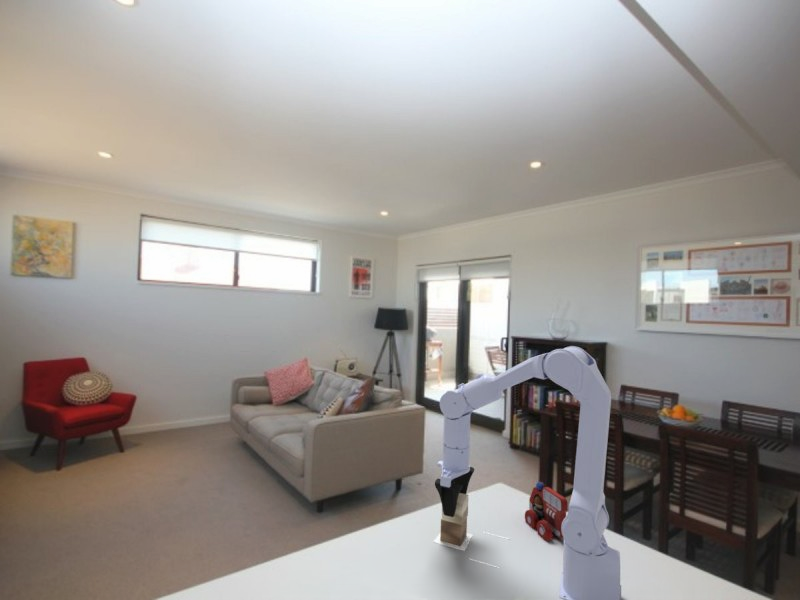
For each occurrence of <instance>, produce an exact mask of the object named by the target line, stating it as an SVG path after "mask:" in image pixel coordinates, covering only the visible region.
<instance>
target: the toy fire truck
mask: <svg viewBox="0 0 800 600" xmlns="http://www.w3.org/2000/svg"><path fill="white" fill-rule="evenodd" d="M528 500H529V501H528V502H529V503H528V504H529V506H528V507H529V508H528V509H527V510H526V511H525V513H524V519H525V523H526V524H527V525H528V526H529V528H531V529H536V532H537V535H538V536H539V537H540V538H541V539H542V540H544V541H546V542H549V541H551V540H552V539H553V537H554V536H555V537H557V538H559V539H562V538H563V535H562V531H561V525H562V522H563V520H564V519H565V517H566V516H567V512H568V510H569V504H568V500H567V498H566V497H564V496H563V495H561V494H559V492H557V491H555V490H554V489H552V488H551V487H549V486H546V485H545V483H544V482H542V481H538V482H537V483H536V485H535V486H534V487H533V488H532V491H531V493H530V496H529V499H528ZM563 539H564V538H563Z"/></svg>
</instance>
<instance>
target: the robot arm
mask: <svg viewBox="0 0 800 600" xmlns="http://www.w3.org/2000/svg"><path fill="white" fill-rule="evenodd" d="M532 378H536V379H540V380H546V379H549V380H551V381H552V382H553V383H555V384H556V385H558V386H560V387H562V388H563V389H566V390H568V391H569V392H570V394H571V395H572V396H573V397H574V398H575V399H576V400H577V401H578V402H579V404H580V407H579V408H580V409H579V420H578V430H577V431H578V432H577V441H576V453H575V465H574V476H573V477H574V478H573V489H572V493H571V497H570V501H569V504H568V510H567V513H566V517H565V519H564V520H563V522H562V525H561V531H562V535H563V554H562V556H563V557H562V558H563V559H562V561H563V562H562V571H561V574H560V583H559V590H558V591H559V593H558V598H560V599H562V600H621V598H622V584H621V553H620V551H619V550H617V549H615V548H612V547H610V546H608V545H609V544H608V543H607V540H606V537H605V535H604V533H605V531H606V529H607V528H608V526H609V523H610V516H609V513H608V510H607V507H606V495H605V492H604V487H605V486H604V485H605V476H606V475H605V474H606V462H607V451H608V439H609V429H610V416H611V405H612V393H611V390H610V388H609V386H608V384H607V383H606V381H605V379H604V377H603V376H602V373H601V372H600V369H599V368H598V365H597V361H596V359H595V358H594V357H592V356H591V354H589V353H588V352H587V351H586V350H584V349H583V348H582V347H579V346H574V345H570V346H566V347H564V348H556V349H554V350H551V351H550V352H546V353H545V352H544V353H542V354H539V355H535V356H533V357H530V358H527V359H526V360H524V361H522V362H520V363H518V364H516V365H514V366H512V367H511V368H509V369H507V370H505V371H503V372H502V373H501V372H500V374H497V375H493V374H490V373H485V374H484V373H483V372H482V373H479V374H476V375H475V378H474V379H473V380H471V381H469V382H467V383H463V382H462V383H460V384H458V385H457V389H453V390H447V391H446V392H445V393H444V394H442V395H441V397H440V399H439V408H440V411H441V413H442V414H443V440H442V442H443V443H442V445H443V447H442V460H439V461H438V462H437V467H439V468H441V475H440V478H436V479H435V480H434V486H435V489H436V490H437V493H438V495H439V498H440V501H441V509H442V508H443V513H444V515H446V516H450V517H454V515H455V511H456V505H457V500H458V496H459V493H462V494H467V492H468V488H469V484H470V481H471V478H472V476H473V474H474V472H475V468H474V467H472V466H471V465H470V447H471V445H470V444H471V415H472V413H473V412H474V411H476V410H479V409H481V408H483V407H485V406H487V405H490V404H492V403H494V402H496V401H499V400H500V399H501V397H502V394H503V392H504V390H506V389H509V388H511V387H513V386H515V385H518V384H521V383H523V382H525V381H528V380H530V379H532Z"/></svg>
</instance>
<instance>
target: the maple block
mask: <svg viewBox="0 0 800 600" xmlns="http://www.w3.org/2000/svg"><path fill="white" fill-rule="evenodd" d="M468 516H469V494H467V493H466V494H462V493H459V496H458V500H457V505H456V511H455V515H454V517H450V516H446V515H444V513H443V508H442V507H441V519H442V520H445V521H448V522H452V523H456V524H460V525H462V524H463V523H464V521H465V519H466V518H467V519H468Z"/></svg>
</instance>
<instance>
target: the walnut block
mask: <svg viewBox="0 0 800 600" xmlns="http://www.w3.org/2000/svg"><path fill="white" fill-rule="evenodd" d="M467 529H468V517H467V518H466V519H465V521H464V523H463V524H462V525H460V524H456V523H452V522H448V521H445V520H442V518H440V532H441V535H440V541H443V542H447V543H450V544H454V545H457V546H461V545H462V543H463V541H464V540H465V538H466V536H467V533H468V532H467V531H468V530H467Z"/></svg>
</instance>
